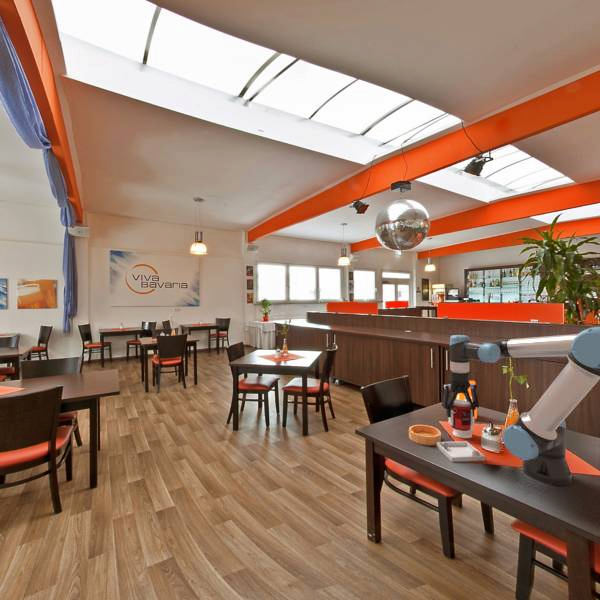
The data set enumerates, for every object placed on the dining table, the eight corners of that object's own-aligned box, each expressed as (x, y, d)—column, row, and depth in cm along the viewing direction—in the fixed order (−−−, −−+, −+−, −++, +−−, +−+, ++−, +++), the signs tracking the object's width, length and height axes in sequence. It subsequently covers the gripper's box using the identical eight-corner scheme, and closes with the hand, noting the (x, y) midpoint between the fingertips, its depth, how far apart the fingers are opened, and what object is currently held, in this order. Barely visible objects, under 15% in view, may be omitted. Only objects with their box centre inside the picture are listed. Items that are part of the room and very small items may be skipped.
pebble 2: (481, 459, 138) (481, 452, 138) (474, 459, 138) (474, 452, 138) (477, 456, 141) (477, 449, 141) (470, 456, 141) (470, 449, 141)
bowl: (446, 445, 151) (446, 436, 151) (416, 446, 151) (416, 437, 151) (432, 432, 165) (432, 424, 165) (404, 433, 165) (404, 425, 165)
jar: (469, 431, 167) (469, 401, 166) (478, 440, 156) (478, 408, 156) (447, 430, 168) (447, 400, 167) (454, 439, 157) (454, 407, 157)
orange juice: (477, 418, 183) (477, 382, 182) (459, 417, 185) (459, 381, 184) (473, 413, 190) (473, 379, 190) (456, 412, 192) (456, 378, 192)
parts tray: (485, 461, 137) (485, 456, 137) (451, 462, 136) (451, 457, 136) (466, 445, 151) (466, 441, 151) (436, 446, 150) (436, 442, 150)
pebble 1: (449, 449, 146) (449, 443, 146) (442, 450, 146) (442, 443, 146) (446, 446, 149) (446, 440, 149) (439, 447, 149) (439, 440, 149)
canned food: (451, 423, 148) (451, 398, 148) (471, 426, 144) (471, 401, 144) (449, 428, 142) (448, 403, 142) (470, 432, 138) (469, 406, 138)
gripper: (478, 368, 147) (478, 420, 147) (432, 370, 146) (433, 421, 146) (488, 372, 140) (489, 426, 140) (440, 373, 139) (441, 428, 139)
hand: (460, 424), depth 143 cm, fingers closed on canned food, 8 cm apart
